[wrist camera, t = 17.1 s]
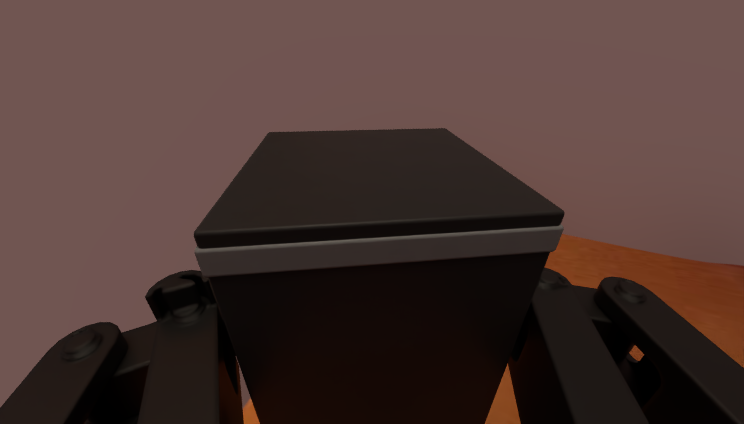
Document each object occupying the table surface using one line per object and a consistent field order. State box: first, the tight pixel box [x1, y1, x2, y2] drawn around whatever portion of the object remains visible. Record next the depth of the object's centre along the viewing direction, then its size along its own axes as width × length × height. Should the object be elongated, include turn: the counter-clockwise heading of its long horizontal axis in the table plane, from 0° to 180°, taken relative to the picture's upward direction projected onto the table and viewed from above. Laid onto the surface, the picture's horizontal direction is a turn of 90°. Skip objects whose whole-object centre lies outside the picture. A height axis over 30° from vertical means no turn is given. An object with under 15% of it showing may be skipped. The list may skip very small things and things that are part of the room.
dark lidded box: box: [194, 128, 564, 424], centre depth 10 cm, size 6×6×10 cm
